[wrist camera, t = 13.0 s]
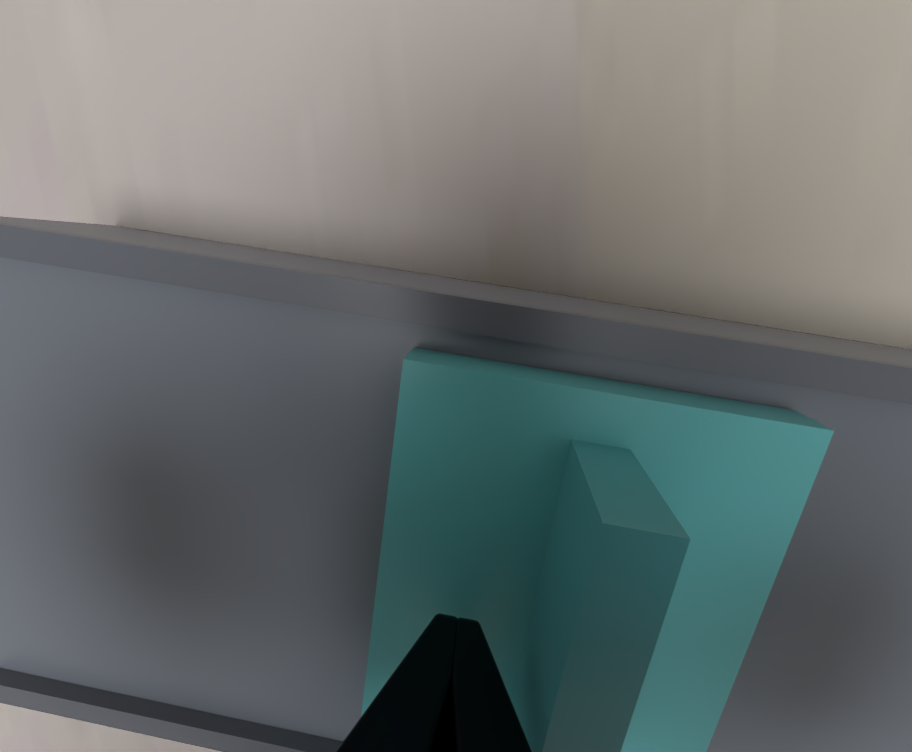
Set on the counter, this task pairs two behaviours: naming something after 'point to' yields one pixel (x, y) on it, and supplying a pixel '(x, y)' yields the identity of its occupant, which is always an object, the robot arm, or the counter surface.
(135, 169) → the counter surface
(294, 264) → the housing
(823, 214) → the counter surface
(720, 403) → the lid
